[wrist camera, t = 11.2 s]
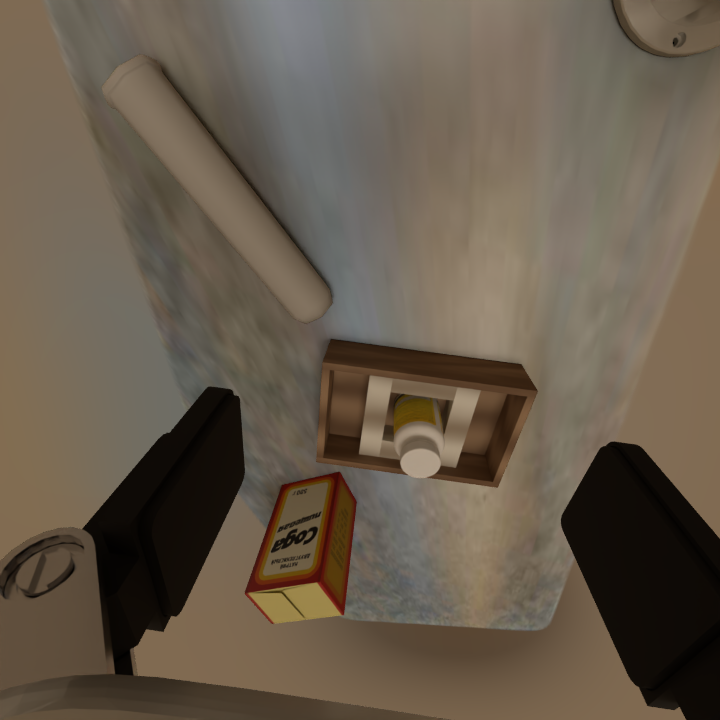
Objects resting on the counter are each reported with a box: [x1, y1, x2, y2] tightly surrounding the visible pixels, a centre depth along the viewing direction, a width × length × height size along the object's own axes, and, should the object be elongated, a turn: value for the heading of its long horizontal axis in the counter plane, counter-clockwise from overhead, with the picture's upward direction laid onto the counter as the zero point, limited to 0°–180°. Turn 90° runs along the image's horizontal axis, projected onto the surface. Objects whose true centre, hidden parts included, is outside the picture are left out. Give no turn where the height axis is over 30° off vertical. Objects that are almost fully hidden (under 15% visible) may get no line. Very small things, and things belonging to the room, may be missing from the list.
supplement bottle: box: [393, 393, 445, 478], centre depth 40 cm, size 5×5×10 cm
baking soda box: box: [245, 472, 357, 624], centre depth 48 cm, size 10×6×16 cm
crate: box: [316, 339, 538, 488], centre depth 43 cm, size 14×22×6 cm, turn 84°
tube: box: [102, 54, 333, 324], centre depth 34 cm, size 5×5×25 cm
